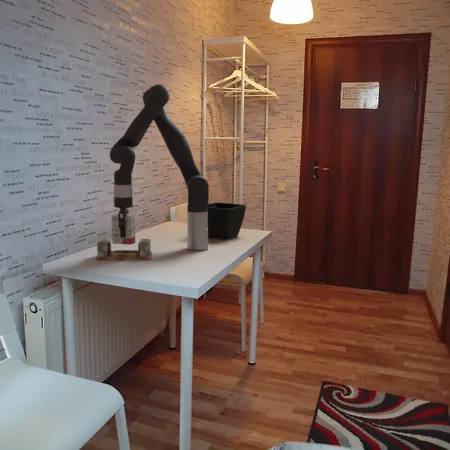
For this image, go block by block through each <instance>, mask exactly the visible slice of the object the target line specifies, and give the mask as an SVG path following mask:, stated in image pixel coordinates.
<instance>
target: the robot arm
mask: <svg viewBox="0 0 450 450" xmlns="http://www.w3.org/2000/svg"><path fill="white" fill-rule="evenodd" d="M170 95H171V94H170V92H169V89H168V88H167V87H166V86H165V85H163V84H158V83H157V84H154V85H152V86H150V87H149V88H148V89H147V90H145V91H144V92H143V94H142V102H143V104H144V106H143V108H142V109H141V110H140V111H139V113H138V114H137V115H136V117H135V118H134V119H133V120H132V121H131V123H130V124H129V126H128V127H127V129H126V131H125V133H124V134H123V136H122V137H120V138H119V139H118V140H117V141H116V142H115V143H114V144H113V146H112V147H111V149H110V152H109V158H110V161H111V162H112V163H113V164H119V165H120V166H119V169H117V170H115V171H114V172H113V206H114V208H115V209H119V211H118V213H117V215H118V219H119V220H118V222H119V228H120V237H121V238H125V237H126V223H127V220H125V216H128V215H130V211H129V208H133V206H134V199H133V197H134V196H133V195H134V194H133V192H134V191H133V183H132V182H133V181H132V179H133V178H132V177H133V176H132V175H133V171H134V166H135V162H136V154H135V150H134V149H133V148H136V147H138V146H139V145H140V143H141V142H142V140H143V138H144V136H145V134H146V133H147V131H148V129H149V127H151V124H152V123H153V122H154V123H155V125H156V127H157V129H158V131H159V133H160V135H161V137H162V139H163V141H164V144H165V146H166V147H167V149H168V152H169V154H170V155H171V158H172V159H173V160H174V163H176V166H177V167H178V169H179V170H180V172H181V175H182V177H183V180H184V183H185V186H186V189H187V208H186V209H187V213H186V214H187V218H186V221H187V222H186V223H187V228H186V229H187V231H186V232H187V240H186V241H187V242H186V243H187V244H186V245H187V249H188V250H189V251H205V250H208V249H209V237H208V204H210V203H209V201H210V200H209V199H210V198H209V194H210V193H209V192H210V187H209V186H210V185H209V183H208V180H207V179H206V178H205V177H203V175H202V173H201V172H200V170H199V169H198V167H197V165H196V163H195V160H194V156H193V153H192V149H191V146H190V144H189V141H188V139H187V137H186V136H185V134H184V132H183V130H182V129H181V128H180V127H179V126H178V125H177V124H176V123H175V122H174V121H172V119H171V118H170V117H169V115H168V112H167V111H166V109H165V106H166V105H167V104H168V102H169V100H170ZM121 223H124V225H121Z"/></svg>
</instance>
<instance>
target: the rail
mask: <svg viewBox="0 0 450 450" xmlns="http://www.w3.org/2000/svg"><path fill="white" fill-rule="evenodd" d="M151 248H152V247H151V238H140V240H139V242H138V249H113V250H112V241H111V239H110V238H99V240H98V241H97V242H96V249H97V250H96V251H97V252H96V253H97V254H96V256H95V261H96V260H99V261H100V262H103V261H104V260H105V261H151V260H152V258H153V251H151ZM99 261H98V262H99Z"/></svg>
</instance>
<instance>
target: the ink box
mask: <svg viewBox="0 0 450 450" xmlns="http://www.w3.org/2000/svg"><path fill="white" fill-rule="evenodd" d="M118 220H119V219H118V214H114V215H111V233H112V234H111V237H112V238H111V240H112V241H111V245H112V244H115V245H130V246H131V245H133V244H135V243H136V241H137V240H136V216H135V215H133V214H132V215H131V214H129V215H128V216H125V220H127V223H126V237H125V238H121V237H120V228H119V222H118ZM121 225H124V223H121Z"/></svg>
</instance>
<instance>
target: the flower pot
mask: <svg viewBox="0 0 450 450" xmlns="http://www.w3.org/2000/svg"><path fill="white" fill-rule="evenodd" d="M246 208H247V205H246V204H242V203H241V204H240V203H228V202H219V201H218V202H212V203H208V239H211V238H212V239H216V240H217V239H218V240H224V241H226V240H230V239H232V238H235V237H238V236H239V233H240V231H241V228H242V225H243V222H244V219H245V214H246Z"/></svg>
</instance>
